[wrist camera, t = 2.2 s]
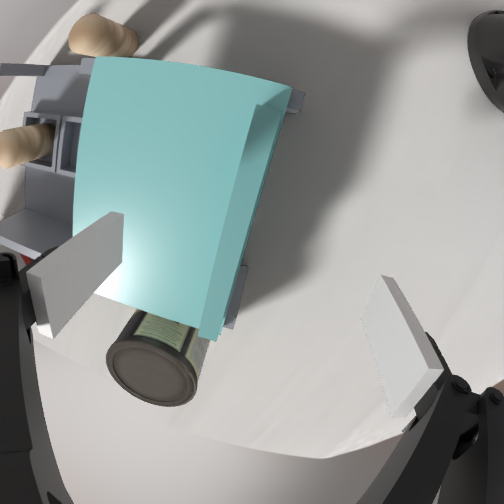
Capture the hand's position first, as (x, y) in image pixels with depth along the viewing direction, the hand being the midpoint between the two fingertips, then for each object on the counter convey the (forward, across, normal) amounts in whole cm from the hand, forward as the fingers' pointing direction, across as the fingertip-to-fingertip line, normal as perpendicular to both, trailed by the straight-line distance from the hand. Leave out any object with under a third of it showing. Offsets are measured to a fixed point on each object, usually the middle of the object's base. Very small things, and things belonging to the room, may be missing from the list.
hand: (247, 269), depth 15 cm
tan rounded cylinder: (+21, -20, +14) cm, 32 cm away
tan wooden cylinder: (+19, -29, +1) cm, 35 cm away
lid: (+10, -8, -1) cm, 13 cm away
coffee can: (+21, -7, -19) cm, 29 cm away
